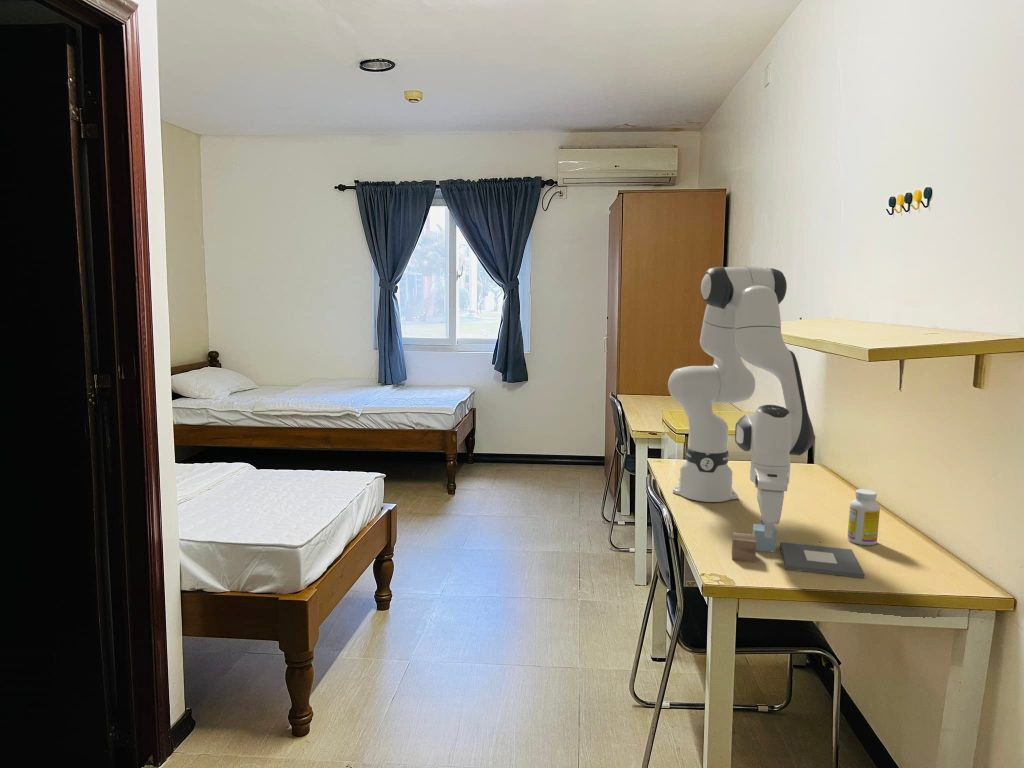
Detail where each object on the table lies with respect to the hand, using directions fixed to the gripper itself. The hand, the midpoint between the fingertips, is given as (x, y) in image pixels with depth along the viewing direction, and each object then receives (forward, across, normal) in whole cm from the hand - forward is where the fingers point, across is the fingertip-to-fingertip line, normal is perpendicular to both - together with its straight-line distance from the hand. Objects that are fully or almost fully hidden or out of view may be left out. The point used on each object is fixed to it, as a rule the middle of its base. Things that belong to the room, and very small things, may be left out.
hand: (766, 530), depth 172 cm
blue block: (+5, 0, 0) cm, 5 cm away
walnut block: (+5, +7, -5) cm, 10 cm away
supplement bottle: (+5, -12, +24) cm, 27 cm away
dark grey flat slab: (+5, +4, +12) cm, 13 cm away
